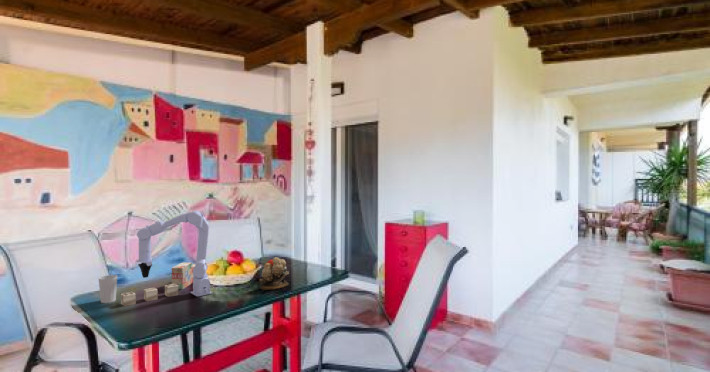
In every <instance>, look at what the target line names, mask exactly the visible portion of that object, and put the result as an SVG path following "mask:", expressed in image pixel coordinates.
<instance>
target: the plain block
mask: <svg viewBox="0 0 710 372" xmlns="http://www.w3.org/2000/svg"><path fill="white" fill-rule="evenodd" d="M158 297H159V293H158V289H157V288H156V287H148V288H145V289H143V299H145V300H144V301H146V302H151V301H155V300H158V299H159V298H158Z"/></svg>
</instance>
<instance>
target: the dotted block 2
mask: <svg viewBox="0 0 710 372" xmlns="http://www.w3.org/2000/svg"><path fill="white" fill-rule="evenodd" d="M164 295H165V296H166V297H168V298H169V297H174V296H178V295H179V289H178V285H176V284H172V283H170V284H166V285H164Z"/></svg>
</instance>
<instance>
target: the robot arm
mask: <svg viewBox="0 0 710 372" xmlns="http://www.w3.org/2000/svg"><path fill="white" fill-rule="evenodd" d="M180 223H189V224H191V225H192V226H194V227H196V228H197V229H198V231H199V232H198V241H197V248H196V249H197V250H196V251H197V252H196V260H195V263H194V264H195V268H194V269H193V275H194V276H193V283H192V291H189V292H190V294H192V295H194V296H195V297H201V296H202V297H203V296H207V295H211V294H213V293H212V291H211V281H210V280H209V278H208V277H209V276H208V273H207V270H208V264H207V253H208V252H207V251H208V242H209V232H210V224H209V223H208V220H207V219H206V218H205V215H204V214H203V213H202V212H201V211H199V210H192V211H189V212H186V213H182V214H180V215H178V216H176V217H172V218H171V219H169V220H166V221H163V220H157V221H155V222H154V223H152V224H149V225H145V227H143V228H141V229H139V230H137V233H136V236H137V238H138V259H136V260H135V262H136V263H138V267H139V268H140V269H139V270H140V273H141V276H142V278H143V279H145V278H149V275H150V270H151V268H152V267H153V263H152V262H153V261H152V260H153V259H152V237H154V236H156V235H159V234H161V233H163V232H166V231H167V229H168V228H169V227H172V226H174V225H177V224H180Z"/></svg>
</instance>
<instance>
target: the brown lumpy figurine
mask: <svg viewBox="0 0 710 372" xmlns="http://www.w3.org/2000/svg"><path fill="white" fill-rule="evenodd" d="M272 260H273V266H272V265H271V264H270V263H267V262H265V264H264V265H263V268H262V270H261V278H259V282H260V283H262V284H261V285H260V286H259V289H260V290H261V289H262V290H261V291H264V290H271V291H276V290H275V289H278V290H281V289H280V288H282V289H284V287H285V288H287V287H289V285H290V284H289V282H288V281H287V280H285V278H287V277H288V275H290V272H289V270H288V271H287V262H286V260H285V259H281V258H280V257H276V256H275V257H273V259H272ZM286 286H287V287H286Z"/></svg>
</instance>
